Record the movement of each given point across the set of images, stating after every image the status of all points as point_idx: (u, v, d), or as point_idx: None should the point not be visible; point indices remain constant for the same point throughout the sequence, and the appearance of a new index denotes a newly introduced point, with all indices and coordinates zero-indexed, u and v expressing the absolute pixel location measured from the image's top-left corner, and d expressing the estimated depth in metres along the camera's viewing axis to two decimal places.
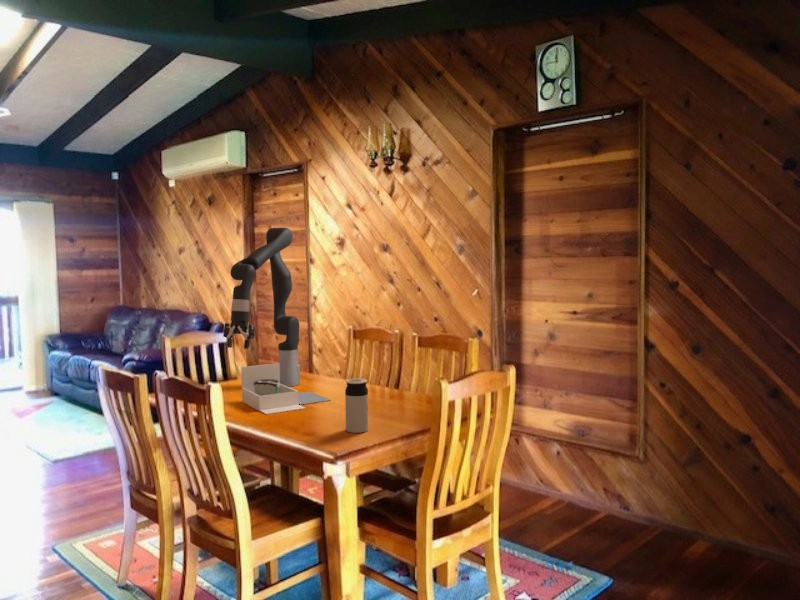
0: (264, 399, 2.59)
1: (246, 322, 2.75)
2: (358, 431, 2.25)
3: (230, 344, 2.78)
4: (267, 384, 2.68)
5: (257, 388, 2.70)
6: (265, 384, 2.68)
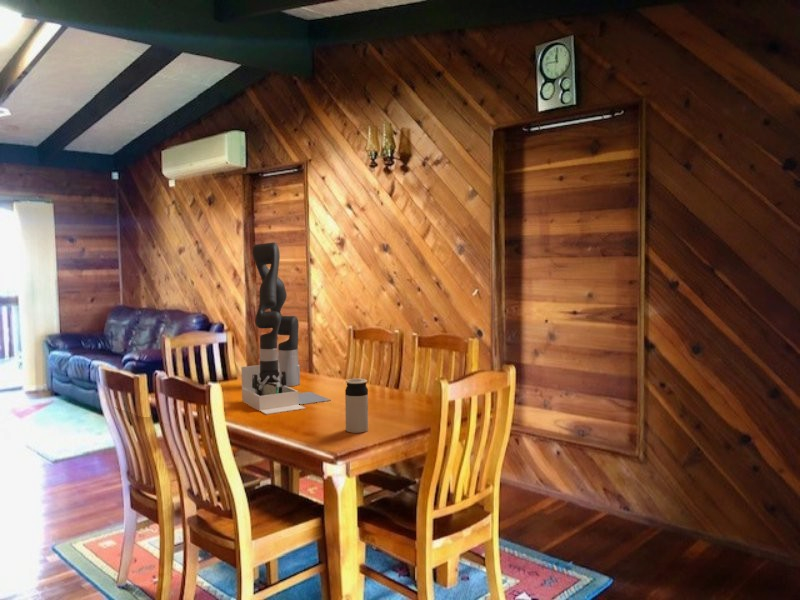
0: (264, 399, 2.59)
1: None
2: (358, 431, 2.25)
3: None
4: (267, 384, 2.68)
5: None
6: (265, 384, 2.68)
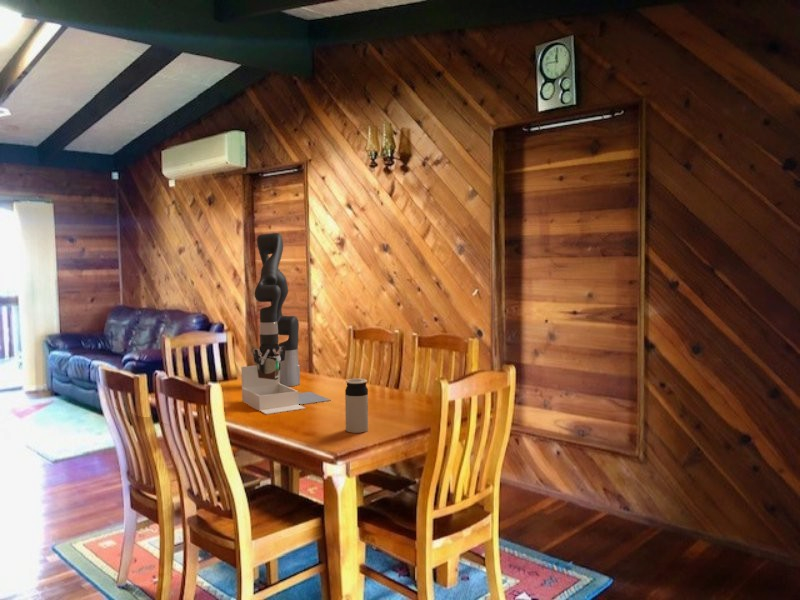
0: (264, 399, 2.59)
1: None
2: (358, 431, 2.25)
3: None
4: (268, 358, 2.68)
5: None
6: (266, 358, 2.68)
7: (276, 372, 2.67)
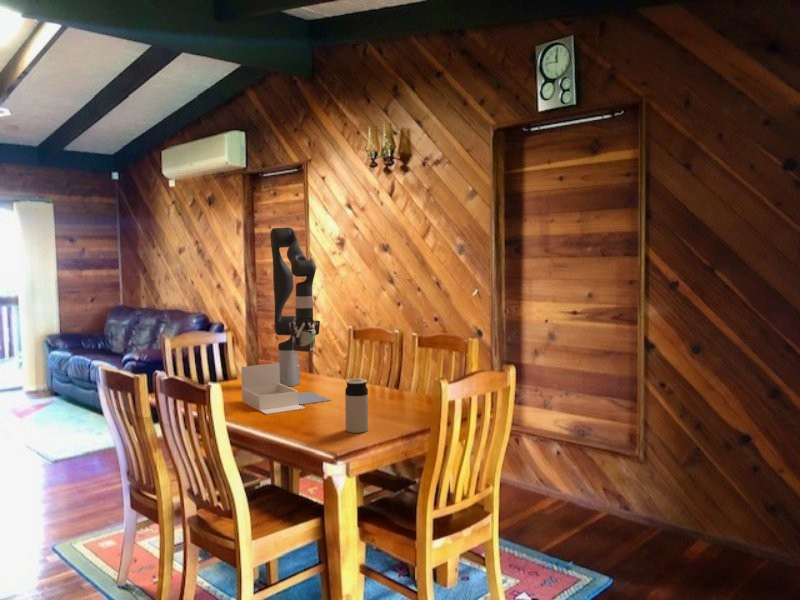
0: (264, 399, 2.59)
1: None
2: (358, 431, 2.25)
3: None
4: (303, 331, 2.76)
5: None
6: None
7: (311, 345, 2.75)
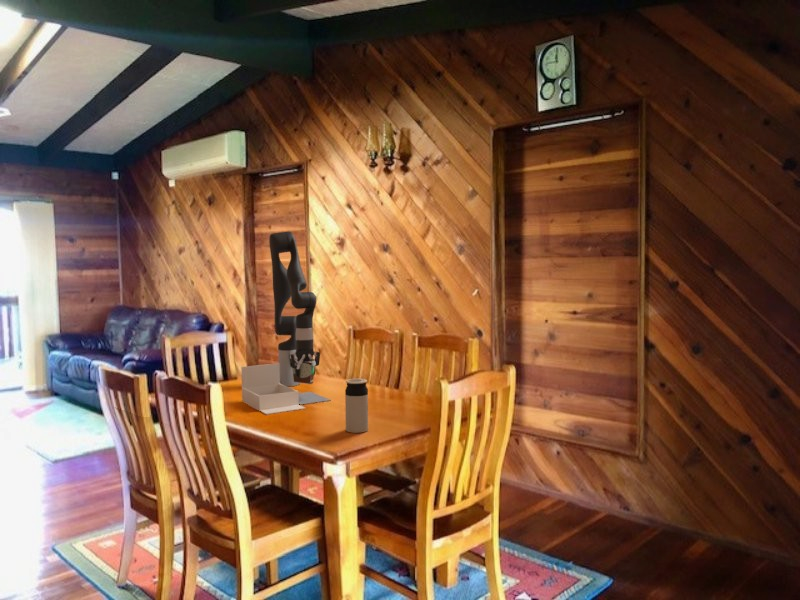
0: (264, 399, 2.59)
1: None
2: (358, 431, 2.25)
3: None
4: (303, 362, 2.77)
5: None
6: None
7: (311, 376, 2.76)
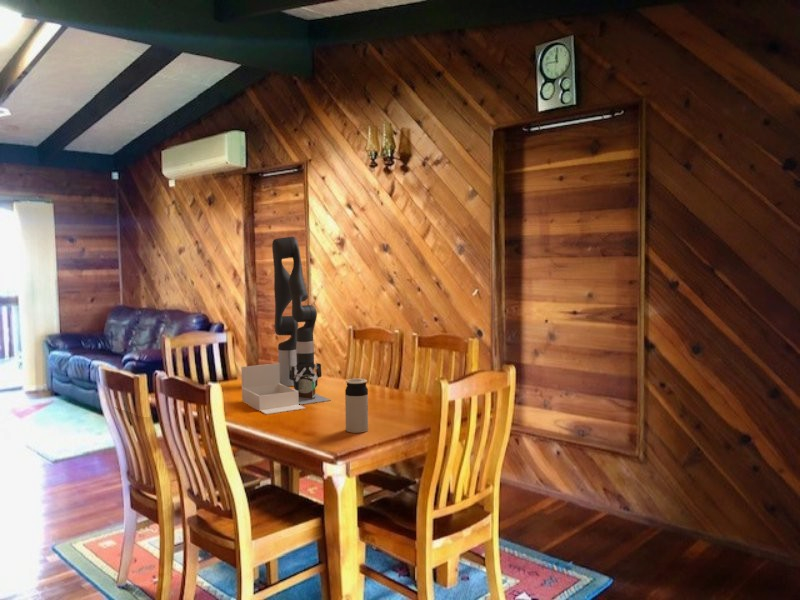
0: (264, 399, 2.59)
1: None
2: (358, 431, 2.25)
3: None
4: (304, 378, 2.77)
5: None
6: (302, 378, 2.78)
7: (313, 392, 2.77)
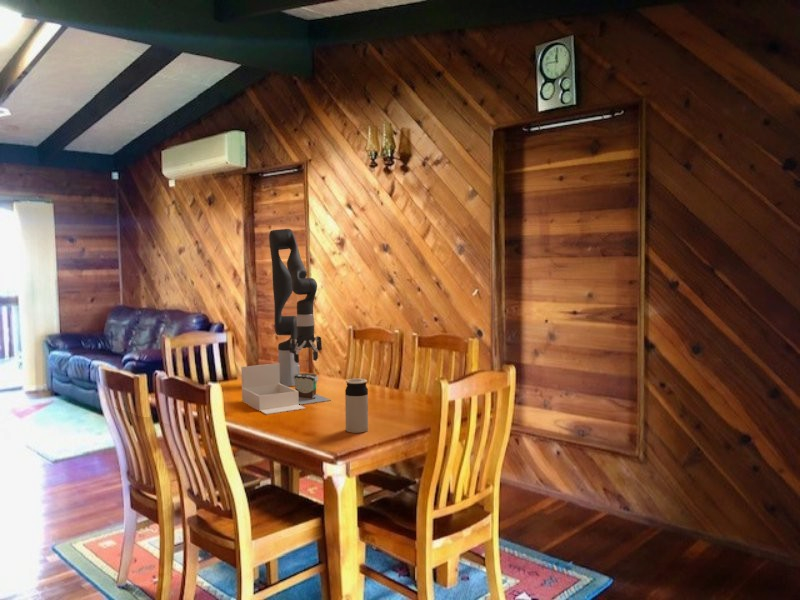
0: (264, 399, 2.59)
1: None
2: (358, 431, 2.25)
3: None
4: (306, 378, 2.78)
5: (297, 382, 2.81)
6: (304, 378, 2.79)
7: (314, 392, 2.77)
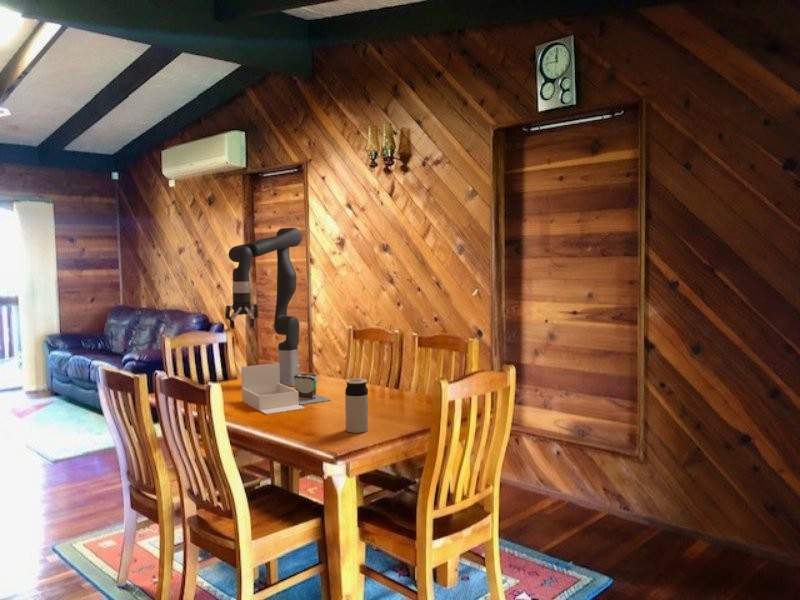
0: (264, 399, 2.59)
1: None
2: (358, 431, 2.25)
3: None
4: (306, 378, 2.78)
5: (297, 382, 2.81)
6: (304, 378, 2.79)
7: (314, 392, 2.77)
